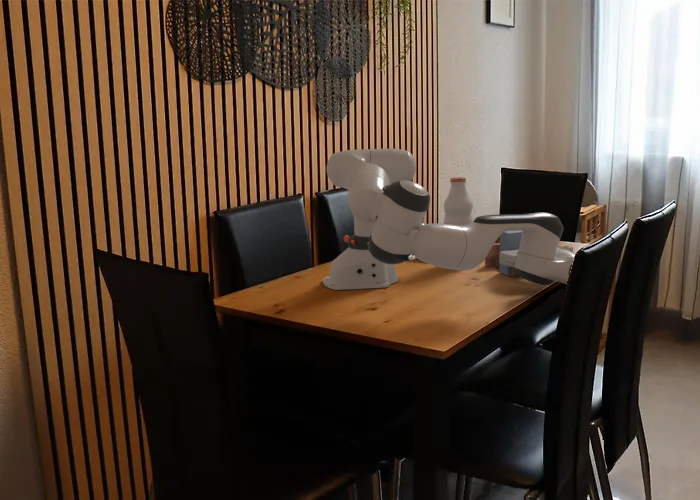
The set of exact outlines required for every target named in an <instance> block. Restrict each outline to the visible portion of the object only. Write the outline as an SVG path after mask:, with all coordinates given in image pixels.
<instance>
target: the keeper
mask: <svg viewBox="0 0 700 500" xmlns="http://www.w3.org/2000/svg"><path fill="white" fill-rule="evenodd" d="M521 237H522V231H506V232H504V233H502V234H501V235H500V252H501V251H510V250H517V249H519V246H520V241H521ZM511 269H514V267H509V266H505V265H502V264H500V269H499V273H500V274H503V275H506V276H511Z"/></svg>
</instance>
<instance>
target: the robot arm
mask: <svg viewBox="0 0 700 500" xmlns="http://www.w3.org/2000/svg"><path fill="white" fill-rule="evenodd" d="M326 163H327V165H326V175H327V178H328V180H329V181H330V182H331V184H333V186H336V187H340V188H343V189H346V190H347V191H348V192H347V194H348V195H347V197H348V198H347V199H348V205H349V209H350V210H351V211H350V212H351V213H352V215H353V226H354V227H353V229H354V234H353V235H351V236H350V235H348V234H346V235H344V237H343V241H344V242H345V243H346V244H347V243H348V247H347V248H346V249H345V250H344V251H342V253H340V254H339V255H338V256H337V257H336V258H335V259H333V260H332V261H331V264H330V270H329V276H325V277H323V278H322V284H323V285H324V286H325V287H326V288H327V289H331V290H334V291H342V290H360V289H361V290H363V289H379V288H381V289H383V288H388V287H389V286H391V285H393V284H395V283H397V282H398V281H399V276H398V274H397V269H396V265H399V264H403V263H405V262H410V261H413V260H414V259H415V258H416V259H418V260H419V261H421V262H424V263H426V264H429V265H430V266H431V265H432V266H434V267H439V268H443V269H447V270H448V269H450V270H455V271H469V270H473V269H475V268H476V267H479V266H480V265H481V264H482V263H483V261H484V262H485V258H486V257H487V255H488V253H489V252H490V250H491V248H492V246H493V244H494V243H495V241H496V240H497V239H498V237H499V236H500V235H501V234H502V233H504V232H506V231H522V237H521V241H520V246H519V249H517V250H510V251H501V252H500V254H499V262H500V264H502V265H505V266H509V267H514V269H515V271H516V273H517V274H518V275H519V276H520V278H519V279H523V280H526V281H528V282H531V283H533V284H536V285H542V286H549V285H552V284H554V283H556V282H558V283H562V284H565V285H568V284H567V281H568V278H569V274H570V271H571V267H572V263H573V259H574V256H575V254H577V253H576V252H574V247H573V246H571V245H559V243H560V240H561V238H562V236H563V235H562V234H563V232H564V229H565V228H564V226H563V224H562V221H561V219H560V218H559V217H558V216H557V215H554V214H552V213H549V212H540V211H539V212H534V213H522V214H521V213H520V214H519V213H518V214H517V213H516V214H513V213H512V214H509V213H508V214H487V215H486V214H485V215H480V216H477V217H475V218H474V219H473V222H471V223H469V224H467V225H464V226H458V225H451V224H444V223H423V222H424V219H425V216H426V212H427V211H428V210H429V208H430V204H431V203H430V202H431V195H430V193H429V192H428V189H426V188H425V187H423V186H422V185H421V184H419V183H417V182H414V181H412V180H413V179H414V177H415V175H416V172H417V163H416V159H415V157H414V156H413V154H412V153H411V152H410V151H409V150H405V149H399V148H371V149H367V148H366V149H347V150H343V151H339V152H334V153H333V154H332V155H331V156H330V157H329V159H328V161H327V162H326Z"/></svg>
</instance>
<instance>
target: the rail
mask: <svg viewBox="0 0 700 500" xmlns="http://www.w3.org/2000/svg"><path fill="white" fill-rule="evenodd" d="M499 254H500V243H494V244H493V246H492V248H491V250H490V252H489V253H488V255H487V257H486V258H485V260H484V267H486V268H496V269H498V270H500V262H499ZM510 278H513V279H521V278H520V276H519V275H518V274H517V273H516V271H515V269H511V275H510Z"/></svg>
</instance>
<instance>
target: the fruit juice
mask: <svg viewBox="0 0 700 500" xmlns="http://www.w3.org/2000/svg"><path fill="white" fill-rule="evenodd" d="M466 181H467V179H466V177H464V176H463V177H457V176H456V177H451V178H450V181H449V182H450V184H451V186H450V190H449V193H448V195H447V197H446V199H445V201H444V203H443V210H444V213H445V214H444V215H445V216H444V219H443V224H451V225H458V226H464V225H467V224H469V223H471V222H473V221H474V218H473V216H472V211H473V207H474V206H473V205H474V204H473V202H472V199H471V198H470V196H469V194H468V191H467V188H466V183H467V182H466Z"/></svg>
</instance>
